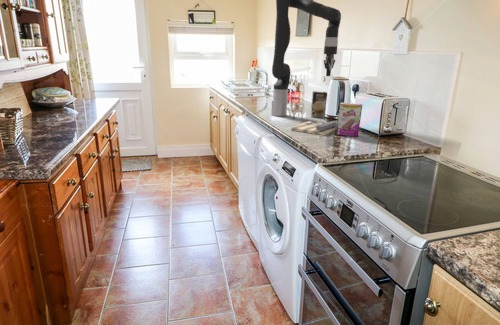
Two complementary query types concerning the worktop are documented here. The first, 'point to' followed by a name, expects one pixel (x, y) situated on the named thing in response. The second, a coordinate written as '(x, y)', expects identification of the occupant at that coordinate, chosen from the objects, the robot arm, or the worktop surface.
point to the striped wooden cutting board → (312, 128)
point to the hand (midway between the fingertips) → (328, 76)
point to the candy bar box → (349, 119)
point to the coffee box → (318, 104)
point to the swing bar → (326, 125)
